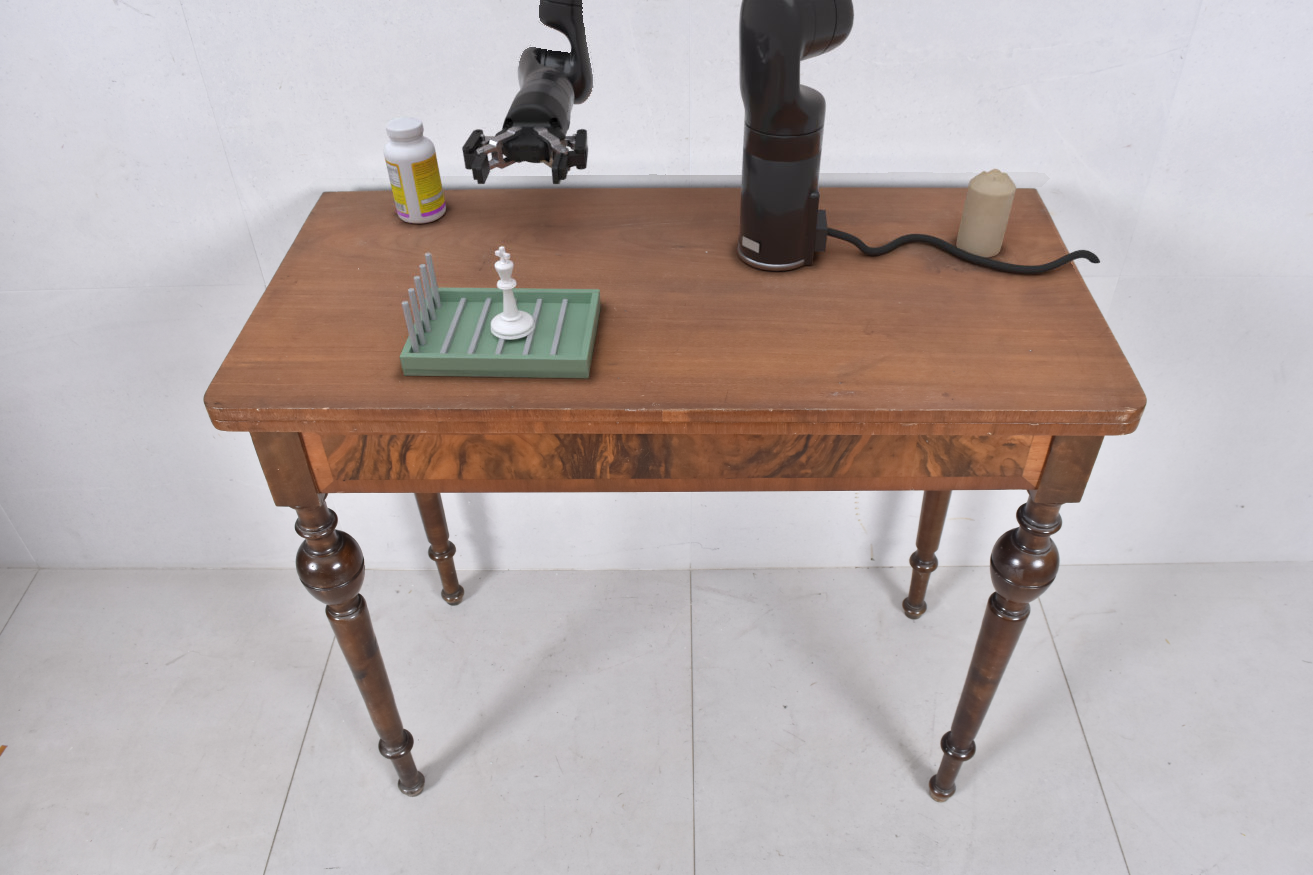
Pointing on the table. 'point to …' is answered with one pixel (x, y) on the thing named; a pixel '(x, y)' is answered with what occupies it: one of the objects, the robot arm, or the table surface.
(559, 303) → the dish rack
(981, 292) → the table surface
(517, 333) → the chess piece
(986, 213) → the candle
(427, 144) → the supplement bottle
